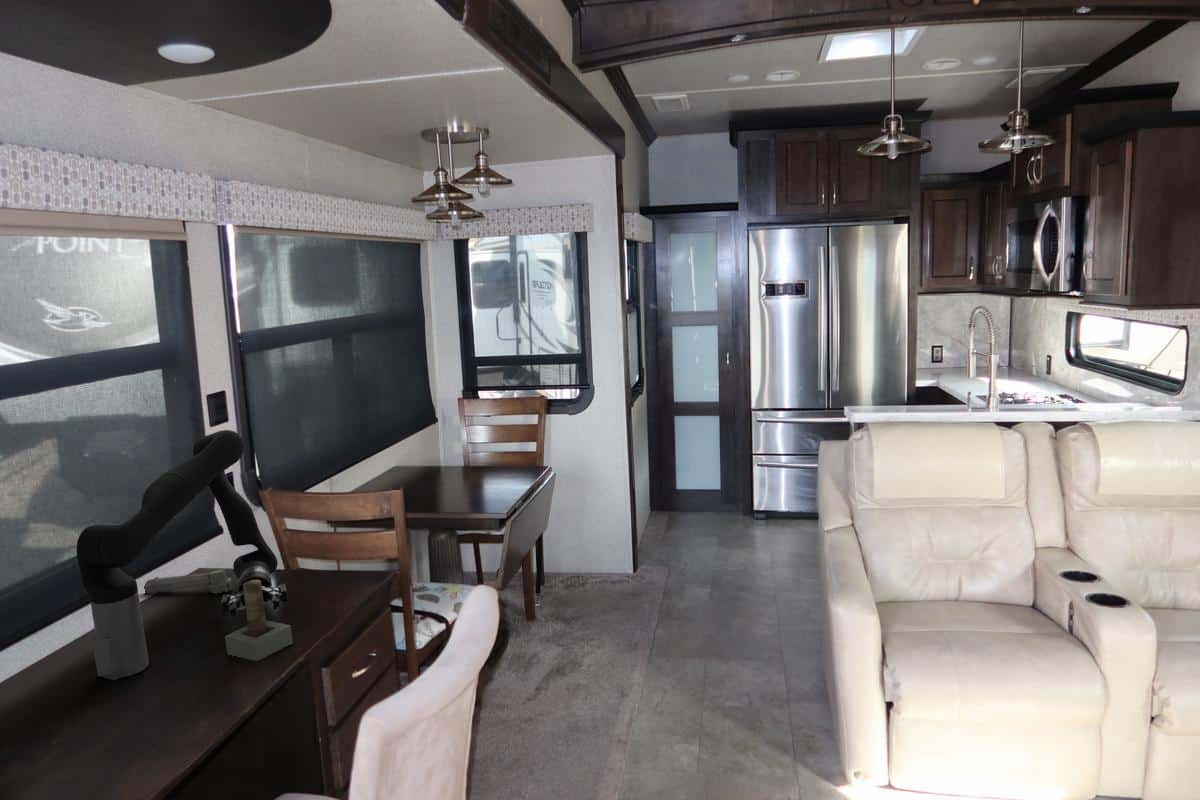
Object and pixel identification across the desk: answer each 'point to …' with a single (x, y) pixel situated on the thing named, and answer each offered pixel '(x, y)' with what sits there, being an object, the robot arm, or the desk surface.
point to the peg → (255, 608)
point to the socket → (259, 641)
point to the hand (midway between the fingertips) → (254, 609)
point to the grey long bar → (190, 582)
